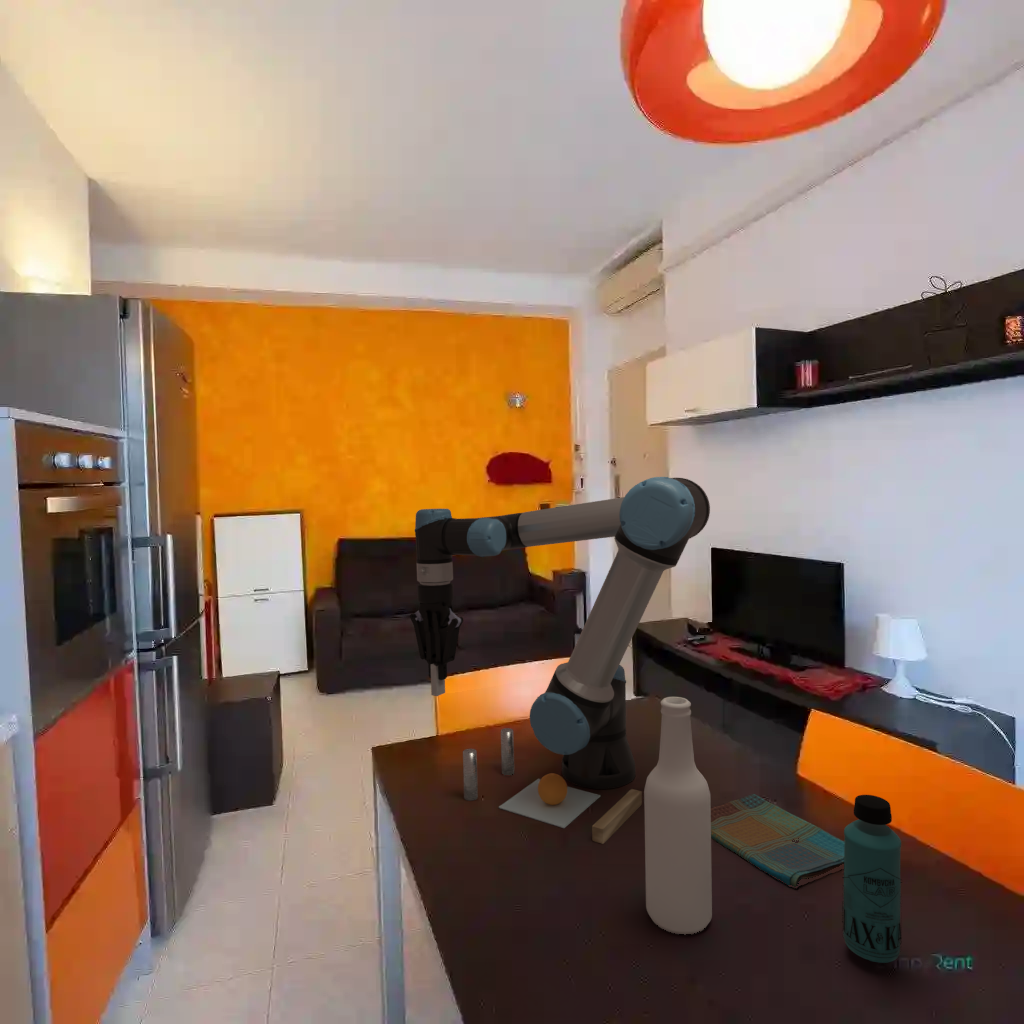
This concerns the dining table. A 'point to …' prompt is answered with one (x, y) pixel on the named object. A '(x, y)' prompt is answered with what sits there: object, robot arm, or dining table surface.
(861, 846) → the beverage bottle
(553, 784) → the ball
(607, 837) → the wall
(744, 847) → the dish towel
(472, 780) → the post left
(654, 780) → the alcohol
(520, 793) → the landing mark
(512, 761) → the post right
